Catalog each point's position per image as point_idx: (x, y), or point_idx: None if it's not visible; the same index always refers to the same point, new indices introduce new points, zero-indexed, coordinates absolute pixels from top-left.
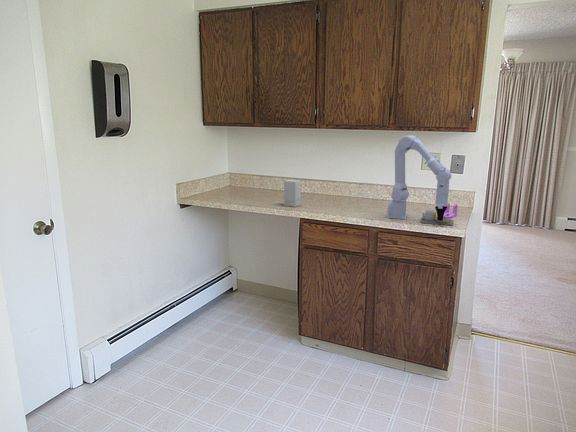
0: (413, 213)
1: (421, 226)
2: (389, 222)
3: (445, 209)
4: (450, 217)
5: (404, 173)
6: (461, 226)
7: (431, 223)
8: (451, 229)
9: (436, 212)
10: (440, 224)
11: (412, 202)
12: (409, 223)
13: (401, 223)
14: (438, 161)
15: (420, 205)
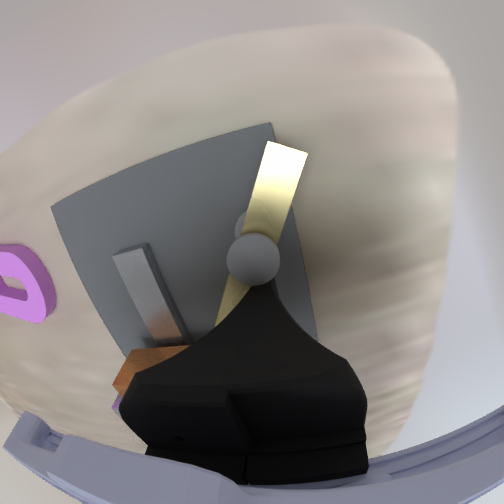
0: (108, 425)
1: (427, 350)
2: (378, 451)
3: (351, 368)
4: (21, 254)
5: None
6: (225, 44)
7: (316, 334)
8: (435, 114)
9: (114, 383)
10: (302, 259)
11: (8, 403)
12: (367, 414)
13: (382, 429)
14: None
15: (5, 389)
